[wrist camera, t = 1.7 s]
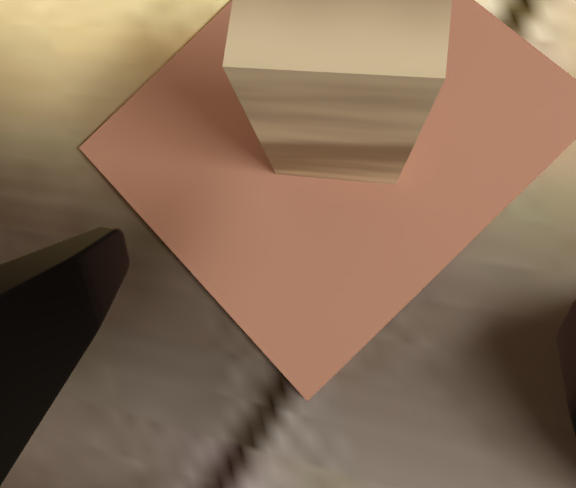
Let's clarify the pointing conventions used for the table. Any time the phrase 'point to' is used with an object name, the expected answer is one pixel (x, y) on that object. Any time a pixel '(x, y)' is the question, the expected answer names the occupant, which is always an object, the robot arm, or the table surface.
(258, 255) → the rubber mat
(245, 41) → the birch block
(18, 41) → the table surface
